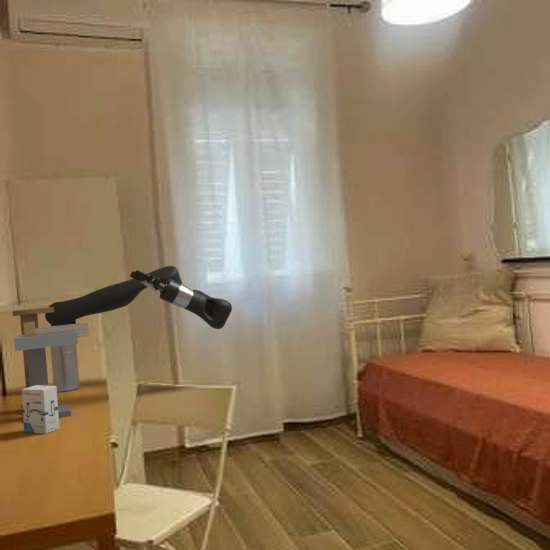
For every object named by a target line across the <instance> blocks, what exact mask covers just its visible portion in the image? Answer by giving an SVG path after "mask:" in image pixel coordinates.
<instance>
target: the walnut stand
mask: <svg viewBox="0 0 550 550" xmlns="http://www.w3.org/2000/svg"><path fill="white" fill-rule="evenodd" d="M52 312H54V307H49V306H48V307H38V308H27V309H18V310H17V309H16V310H12V317H18V316H19V319H20V320H19V321H20V332H21V335H24V322H32V321H35V328H39V319H38V318H39V317H38V315H39V314H45V313H52ZM22 357H23V367H24V368H23V369H24V379H25V388H28V387H30V380H29V368H28V356H27V350H22ZM57 402H58V405H63V403H62V398H57ZM20 415H23V404H21V405H20Z"/></svg>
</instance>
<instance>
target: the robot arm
mask: <svg viewBox="0 0 550 550" xmlns="http://www.w3.org/2000/svg"><path fill="white" fill-rule="evenodd" d="M129 277H130V279H128V280H124V281H121V282H117V283H114V284H110V285H107V286H104V287H102V288H99V289H96V290H94V291H92V292H90V293H86V294H85V295H82V296H80V297H76V298H72V299H68V300H67V299H66V300H63V301H62V300H61V301H55V302H53V303H51V304H49V306H48V307H54V312H52V313H44V318H45V320H46V322H47V323H48V324H50V326H59V325H69V324H77V323H76V322H77V320H78V319H81V318H83V317H87V316H91V315H96V314H98V315H99V314H102V313H106V312H111V311H115V310H117V309H121V308H123V307H124V308H125V307H127V306H128V305H130V304H131V303H132V302H133V301H134V300H135V299H136V298H137V296H139V295H140V293H142V292H143V291H144V290H145V289H147V288H150V289H151V290H153V291H155V292H156V291H157V292H158V291H159V299H161V300H162V301H165V302H167V303H170V304H171V305H174V306H175V307H178V308H181V309H184V310H186V311H188V312H190V313H192V314H194V315H196V316H198V317H199V318H200V319H202V320H203V321H204V322H205V323H206V324H207V325H208V326H209V327H211V328H213V329H215V330H220V329H221V330H222V329H223V328H224V327H225V325H226V322H227V321H228V320H229V319H228V318H229V317H230V315H231V314H232V310H233V307H232V306H233V305H232V304H231V302H230V301H228V300H226V299H223V298H219V297H218V298H217V297H212V296H209V294H206V293H204V292H203V291H201V290H199V289H192V288H190V287H188V286H187V285H184V284H183V282H182V278H181V275H180V273H179V270H178V268H177V267H175V266H173V265H168V266H167V265H166V266H163V267H160V268H157V269H154V270H153V271H152V270H151V271H150V272H148V273H144V272H142V271H140V270H137V269H136V270H135V271H131V272H130V275H129ZM49 348H50V359H51V360H50V361H51V371H52V372H51V374H52V384H53V385H52V386H56V387H57V393H58V392H60V393H61V392H68V391H74V390H77V389H80V374H79V364H78V363H79V362H78V352H77V351H78V350H77V344H72V345H63V346H55V347H49Z"/></svg>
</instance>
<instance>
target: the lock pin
mask: <svg viewBox="0 0 550 550" xmlns="http://www.w3.org/2000/svg"><path fill="white" fill-rule="evenodd" d="M70 332H77V339H78V338H87V337H90V334H89V333H90V332H89V323H88V322H81V323H76V324H69V325H59V326H51V325H49V326H41V327H39V326H38V328H35V321H32V322H24V335H25V337H32V336H41V335H51V334H60V333H70Z"/></svg>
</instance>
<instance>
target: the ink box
mask: <svg viewBox="0 0 550 550" xmlns="http://www.w3.org/2000/svg"><path fill="white" fill-rule="evenodd" d="M21 396H22V397H21V399H22V401H21V402H22V405H23V414H22V415H23V432H24V433H31V434H32V433H33V434H42V435H43V434H44V435H47V434H49V432H50V433H53V432H55V430H56V431H58V429H59V430H60V420H59V419H60V418H59V416H58V402H57V399H58V392H57V387H56V386H53V385H48V386H45V385H35V386H32V387H28V388H26V387H25V388H22V389H21ZM52 431H53V432H52Z"/></svg>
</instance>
